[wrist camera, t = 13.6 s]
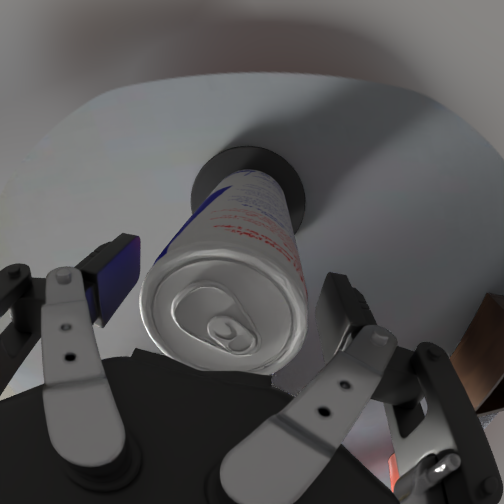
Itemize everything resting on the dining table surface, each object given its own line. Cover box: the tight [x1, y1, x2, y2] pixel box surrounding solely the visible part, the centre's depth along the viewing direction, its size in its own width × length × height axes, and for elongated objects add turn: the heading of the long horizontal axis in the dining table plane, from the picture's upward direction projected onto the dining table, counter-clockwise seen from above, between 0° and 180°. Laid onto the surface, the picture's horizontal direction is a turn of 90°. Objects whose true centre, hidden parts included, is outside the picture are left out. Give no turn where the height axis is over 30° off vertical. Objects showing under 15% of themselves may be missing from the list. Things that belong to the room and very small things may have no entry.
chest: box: [450, 293, 504, 417], centre depth 24 cm, size 13×11×9 cm
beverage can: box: [140, 169, 308, 375], centre depth 16 cm, size 6×6×15 cm
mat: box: [191, 146, 305, 235], centre depth 23 cm, size 9×9×1 cm
